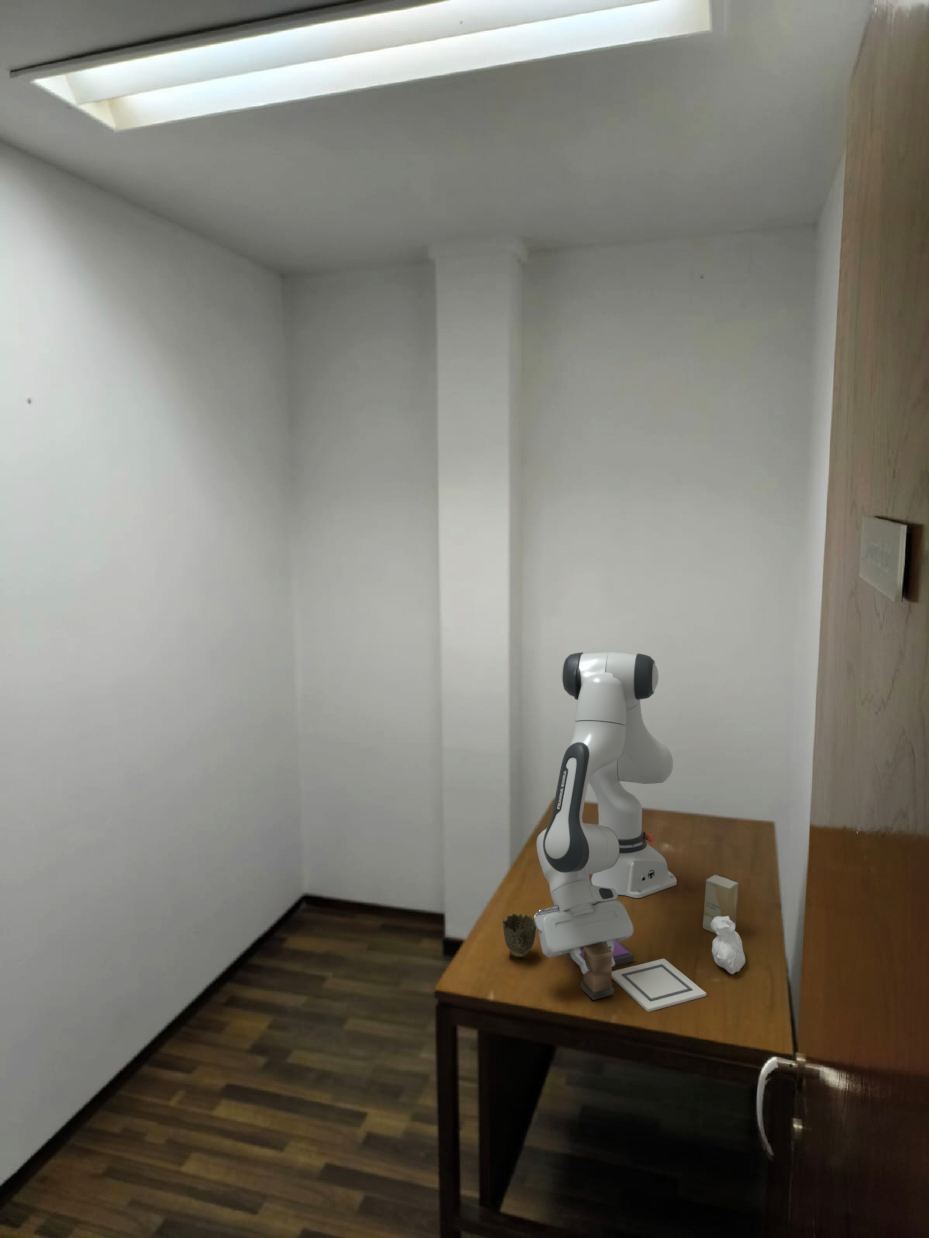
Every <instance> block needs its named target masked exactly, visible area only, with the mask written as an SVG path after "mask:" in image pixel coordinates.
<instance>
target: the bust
mask: <svg viewBox="0 0 929 1238" xmlns="http://www.w3.org/2000/svg"><path fill="white" fill-rule="evenodd" d="M711 928H712V930H714V931H715V932H716V933H717V934H716V933H715V934H716V937H715V938H714V939H713V940H712V942H711V943H712V947H711V953H712V957H713V960H714V962H715V964H716V965H717V966H719V967H720V968H723V969H725V970H726V971H727V973H729V974H730V975H734V974H735V973H736V972H740V970H741V969H742V967H743V966H744V965H745V963H746V956H745V953H744V949H743V940H742V938H741V936H740V935H739V933H738V932H737V931H736V924H735V923H733V922H732V921H731V920H730V919H729V916H726V917H725V916H724V917H721V916H717V917H714V919H713V920H712V922H711ZM734 930H735V931H734Z"/></svg>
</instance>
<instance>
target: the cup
mask: <svg viewBox="0 0 929 1238" xmlns="http://www.w3.org/2000/svg"><path fill="white" fill-rule="evenodd" d="M502 927H503V935H504V936H503V937H504V941H505V945H506V947H507V948H508V949H509V950H510V954H511V956H512V957H513V958H515V959H519V960H521V959H525V958H527V956H528V955H529V951H530V950H532V947H534V943H535V938H536V932H537V928H536V925H535V922H534V917H533V918H532V916H531V915H528V914H527V913H526V914H525V915H524V916H523V914H522V913H519V915H518V914H516V913H512V914H511V915H507V917H506V920H505V918H503V920H502Z"/></svg>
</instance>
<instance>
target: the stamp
mask: <svg viewBox="0 0 929 1238" xmlns="http://www.w3.org/2000/svg"><path fill="white" fill-rule="evenodd" d="M583 950H584V960H585V962H588V961H589V962H590V966H591V968H592V971H591V972H589V973H585V974H583V980H581V981H580V988H581V989H582V990H583V991H584V992H585V993H586V994H587V996H589V998H591V1000H593V1001H594V1000H598V999H602V998H606V997H610V996H613V995H615V988H614V987H613V986H612V977H611V973H612V969H613V968H612V956H613V951H612V950H611V949H609V948H608V947H607V946H606V945H605V944H604V943H603V942H601V943H597V944H592V945H588V946H584V947H583Z"/></svg>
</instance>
